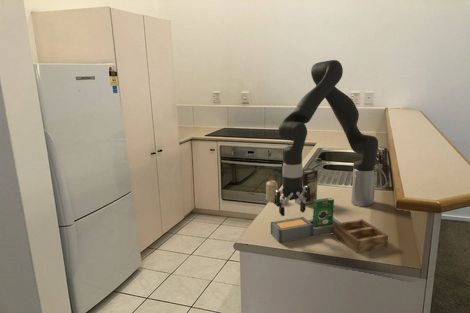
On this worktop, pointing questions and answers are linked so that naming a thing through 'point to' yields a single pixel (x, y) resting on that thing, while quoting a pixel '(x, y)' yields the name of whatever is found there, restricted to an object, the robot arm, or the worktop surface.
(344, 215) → the worktop surface
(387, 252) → the worktop surface
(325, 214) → the coffee box
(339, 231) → the walnut rack
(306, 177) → the coffee box
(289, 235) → the stand
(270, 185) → the candle
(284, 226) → the key
